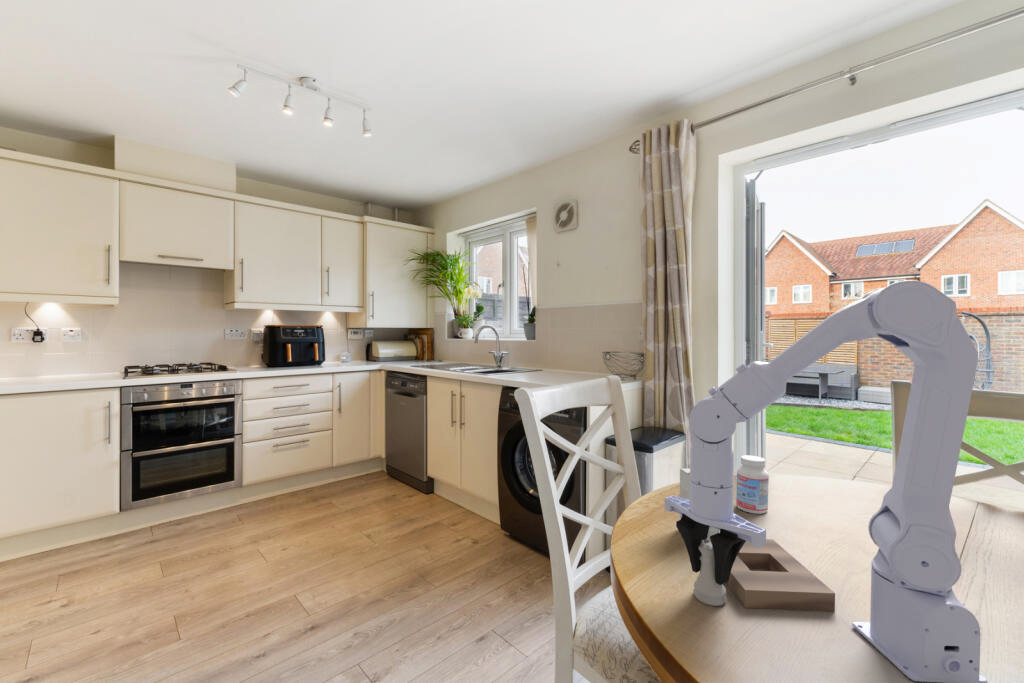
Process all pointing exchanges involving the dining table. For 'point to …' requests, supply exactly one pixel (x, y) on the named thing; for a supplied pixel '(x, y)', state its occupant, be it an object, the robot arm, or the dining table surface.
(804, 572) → the socket board
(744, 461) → the pill bottle
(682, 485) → the skincare box
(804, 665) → the dining table surface
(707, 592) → the rook chess piece
